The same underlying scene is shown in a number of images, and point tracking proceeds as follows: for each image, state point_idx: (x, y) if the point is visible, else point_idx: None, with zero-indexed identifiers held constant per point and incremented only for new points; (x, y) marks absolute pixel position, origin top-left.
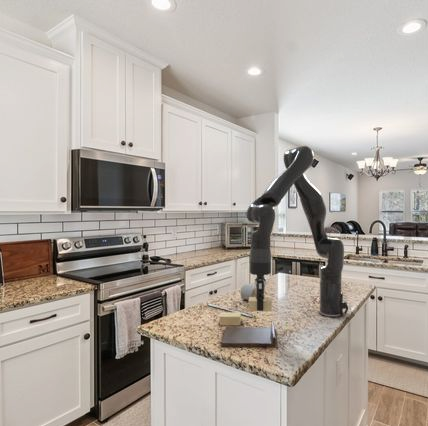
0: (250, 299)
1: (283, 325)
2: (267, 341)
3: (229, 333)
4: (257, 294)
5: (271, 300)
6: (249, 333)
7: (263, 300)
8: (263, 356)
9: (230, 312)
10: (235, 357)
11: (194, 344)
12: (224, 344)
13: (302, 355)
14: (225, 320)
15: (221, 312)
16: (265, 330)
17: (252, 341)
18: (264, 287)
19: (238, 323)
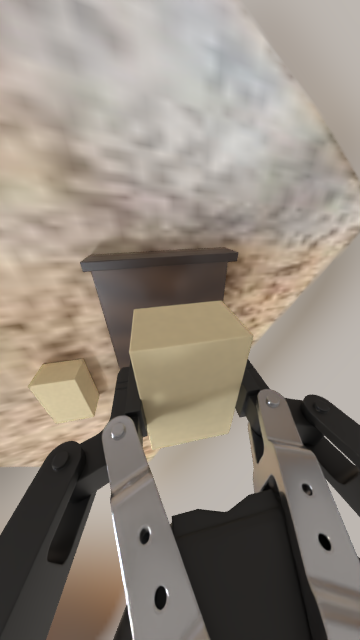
0: (202, 435)
1: (9, 204)
2: (213, 274)
3: None
4: (348, 463)
5: (232, 338)
6: None
7: (227, 383)
8: (268, 278)
9: (45, 408)
10: (259, 332)
11: None
12: None
13: (294, 144)
14: (92, 397)
15: (57, 423)
16: (128, 286)
17: None
18: (339, 527)
19: (82, 366)
